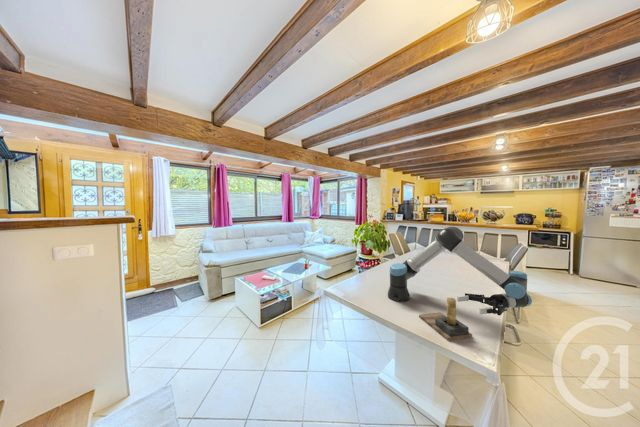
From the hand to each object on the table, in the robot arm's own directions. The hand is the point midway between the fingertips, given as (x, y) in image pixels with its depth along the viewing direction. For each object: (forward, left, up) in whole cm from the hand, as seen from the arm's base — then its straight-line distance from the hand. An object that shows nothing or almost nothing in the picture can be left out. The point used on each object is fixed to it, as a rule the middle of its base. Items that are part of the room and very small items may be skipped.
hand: (468, 304), depth 111 cm
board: (-5, -11, -13) cm, 18 cm away
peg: (0, -11, -12) cm, 16 cm away
